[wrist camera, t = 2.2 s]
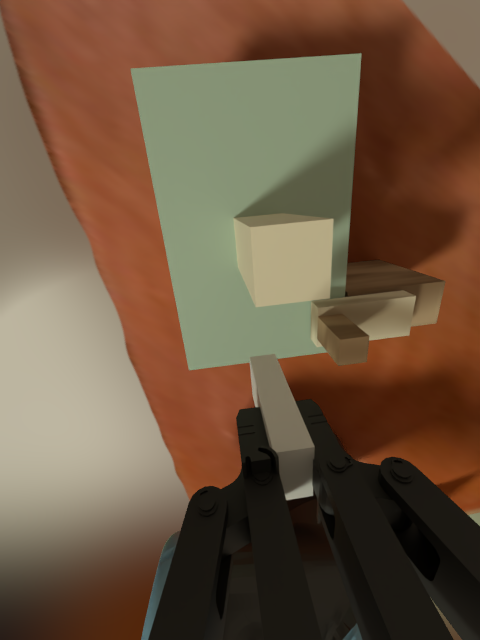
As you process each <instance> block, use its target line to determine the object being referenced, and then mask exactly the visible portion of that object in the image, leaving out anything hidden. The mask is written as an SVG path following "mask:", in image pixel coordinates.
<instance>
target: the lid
mask: <svg viewBox="0 0 480 640" xmlns="http://www.w3.org/2000/svg"><path fill="white" fill-rule="evenodd" d="M361 54H362V53H359V54H344V55H329V56H314V57H299V58H284V59H269V60H254V61H239V62H224V63H209V64H194V65H179V66H164V67H149V68H134V69H131V74H132V79H133V84H134V89H135V94H136V99H137V104H138V110H139V115H140V120H141V125H142V130H143V135H144V141H145V146H146V151H147V156H148V161H149V166H150V172H151V177H152V182H153V187H154V192H155V197H156V202H157V208H158V213H159V218H160V223H161V228H162V233H163V239H164V244H165V249H166V254H167V259H168V264H169V270H170V275H171V280H172V285H173V290H174V295H175V300H176V306H177V311H178V316H179V321H180V326H181V331H182V337H183V342H184V347H185V352H186V357H187V362H188V367H189V370H195V369H203V368H211V367H218V366H226V365H233V364H241V363H249V362H250V358H249V357H254V356H262V355H269V354H275V355H276V357H277V359H279V358H287V357H294V356H302V355H309V354H317V353H325V352H327V351H326V350H325V348H324V347H316V345H315V344H314V343H313V341H312V340H311V339H310V335H311V301H317V300H326V299H334V298H342V297H345V288H346V273H347V258H348V244H349V229H350V215H351V200H352V185H353V171H354V156H355V142H356V127H357V112H358V98H359V83H360V69H361Z"/></svg>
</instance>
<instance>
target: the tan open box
mask: <svg viewBox="0 0 480 640" xmlns="http://www.w3.org/2000/svg"><path fill="white" fill-rule="evenodd" d="M444 286H445V281H443V280H440V279H437V278H434V277H431V276H428V275H425V274H422V273H419V272H416V271H412V270H409V269H406V268H403V267H400V266H397V265H394V264H391V263H388V262H385V261H382V260H371V261H362V262H353V263H347V273H346V288H345V297H351V296H359V295H367V294H376V293H384V292H392V291H401V290H404V291H406V292H408V293H410V294H413V295H415V296H416V300H415V305H414V311H413V316H412V322H411V326H419V325H426V324H434V323H436V322H437V318H438V313H439V308H440V304H441V299H442V295H443V290H444Z"/></svg>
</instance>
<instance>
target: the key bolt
mask: <svg viewBox="0 0 480 640" xmlns="http://www.w3.org/2000/svg"><path fill="white" fill-rule="evenodd" d="M415 300H416V296H415V295H413V294H410V293H408V292H406V291H404V290H401V291H392V292H384V293H376V294H367V295H359V296H351V297H342V298H334V299H326V300H317V301H311V335H310V339H311V340H312V341H313V343H314V344H315V345H316V347H324V348H325V350H326V351H327V352H328V353H329V355H330V356H331V357H332V358H333V360H334V361H335V362H336V363H337V365H338V366H340V365H348V364H355V363H362V362H367V354H368V345H369V340H376V339H384V338H392V337H400V336H407V335H409V333H410V328H411V322H412V316H413V311H414V305H415Z"/></svg>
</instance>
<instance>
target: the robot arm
mask: <svg viewBox="0 0 480 640" xmlns="http://www.w3.org/2000/svg"><path fill="white" fill-rule="evenodd" d="M249 358H250V370H251V381H252V393H253V399H254V403H255V408H248V409H241V410H239V413H238V415H237V418H236V419H237V427H238V436H239V444H240V452H241V461H242V469H241V473H240V475H239V476H238V478H237V479H236V480H235V481H234V482H233V483H231V484H230V485H228V486H226V487H224V488H222V489H219V488H217V487H214V486H208V487H204V488H202V489H200V490H198V491H197V492H196V493H195V494H194V495H193V496H192V498H191V500H190V502H189V505H188V508H187V511H186V514H185V518H184V521H183V524H182V528H181V531H178V532H176V533H174V534H173V535H172V536H171V537H170V538H169V539H168V540H167V542H166V544H165V546H164V548H163V551H162V554H161V557H160V561H159V565H158V569H157V572H156V576H155V580H154V584H153V588H152V593H151V597H150V602H149V606H148V610H147V615H146V619H145V624H144V629H143V633H142V638H141V640H453V638H452V636H451V634H450V632H449V631H448V629H447V627H446V625H445V623H444V621H443V620H442V618H441V616H440V614H439V612H438V611H437V609H436V607H435V605H434V603H435V604H436V605H437V606H438V608H439V609H440V611H441V612H442V613H443V615H444V616H445V617H446V619H447V620H448V621H449V623H450V624H451V625H452V627H453V628H454V629H455V631H456V632H457V633H458V635H459V636H460V637H461V639H462V640H480V526H479V525H478V524H477V523H475V522H474V520H472V519H471V518H470V517H469V516H468V515H467V514H466V513H465V512H464V511H463V510H462V509H461V508H460V507H458V506H457V505H456V504H455V503H454V502H453V501H452V500H451V499H450V498H449V497H448V496H447V495H445V494H444V493H443V492H442V491H441V490H440V489H439V488H438V487H437V486H436V485H435V484H434V483H433V482H431V481H430V480H429V479H428V478H427V477H426V476H425V475H424V474H423V473H422V472H421V471H420V470H419V469H417V468H416V467H415V466H414V465H412V464H411V463H410V462H408V461H406V460H404V459H401V458H396V457H390V458H386V459H384V460H383V461H382V462H381V465H374V464H367V463H362V462H359V461H356V460H354V459H353V458H352V457H351V456H350V455H348V454H347V453H346V451H345V449H344V447H343V445H342V443H341V441H340V440H339V438H338V437H337V436H336V435H335V434H334V433H333V431H332V430H331V428H330V426H329V424H328V423H327V420H326V418H325V416H324V415H323V413H322V411H321V409H320V407H319V405H317V404H316V403H315V402H314V401H313V400H311V399H308V400H301V401H295V400H294V397H293V395H292V393H291V390H290V388H289V386H288V383H287V381H286V379H285V376H284V374H283V372H282V369H281V367H280V365H279V362H278V360H277V357H276V355H275V354H269V355H262V356H254V357H249ZM430 597H431V598H430ZM431 599H432V600H433V601H434V603H433V602H432V600H431Z"/></svg>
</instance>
